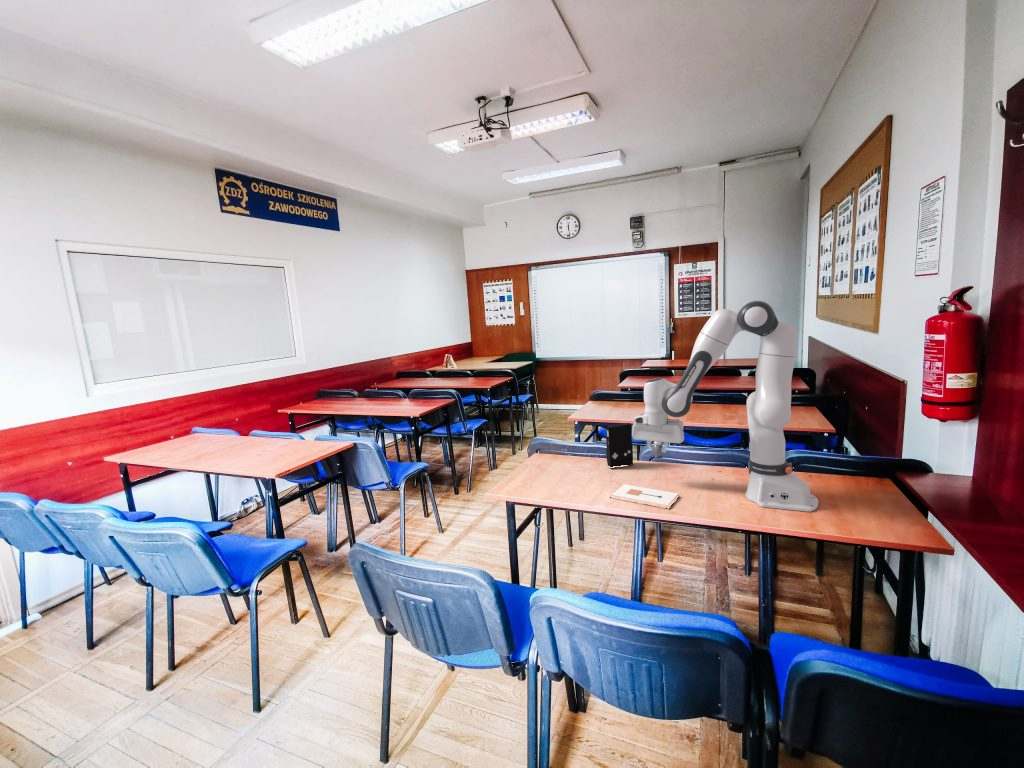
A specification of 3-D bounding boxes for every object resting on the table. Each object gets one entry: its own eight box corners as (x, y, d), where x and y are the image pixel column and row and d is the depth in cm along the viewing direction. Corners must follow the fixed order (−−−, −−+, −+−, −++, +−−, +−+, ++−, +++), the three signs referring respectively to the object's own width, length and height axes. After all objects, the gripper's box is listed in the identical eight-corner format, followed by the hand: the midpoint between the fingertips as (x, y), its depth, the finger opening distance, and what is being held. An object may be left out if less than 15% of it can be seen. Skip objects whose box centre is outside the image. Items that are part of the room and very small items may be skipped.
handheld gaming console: (610, 469, 204) (608, 427, 201) (606, 466, 209) (603, 425, 206) (634, 465, 207) (632, 424, 204) (628, 462, 212) (627, 422, 209)
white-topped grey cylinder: (664, 456, 179) (663, 439, 178) (661, 458, 177) (660, 441, 176) (655, 455, 181) (655, 439, 180) (653, 457, 179) (652, 441, 178)
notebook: (680, 496, 169) (680, 493, 169) (668, 509, 159) (668, 506, 159) (623, 486, 183) (623, 483, 183) (609, 498, 173) (609, 494, 173)
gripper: (685, 417, 173) (687, 452, 175) (635, 415, 185) (637, 447, 187) (680, 421, 168) (682, 456, 170) (629, 418, 180) (631, 451, 182)
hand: (658, 451), depth 179 cm, fingers closed on white-topped grey cylinder, 3 cm apart
